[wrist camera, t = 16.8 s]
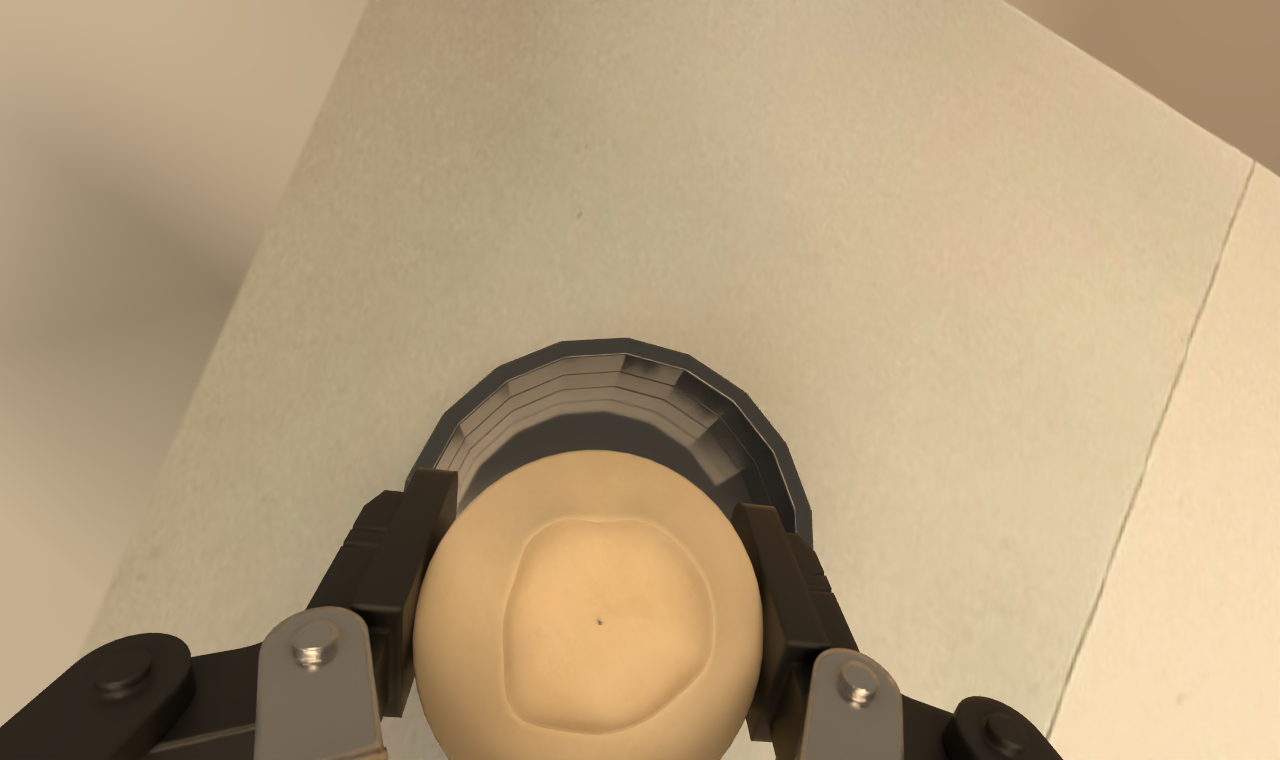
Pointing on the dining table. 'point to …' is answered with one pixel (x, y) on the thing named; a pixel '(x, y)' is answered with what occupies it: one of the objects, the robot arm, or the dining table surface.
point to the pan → (619, 424)
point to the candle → (588, 618)
